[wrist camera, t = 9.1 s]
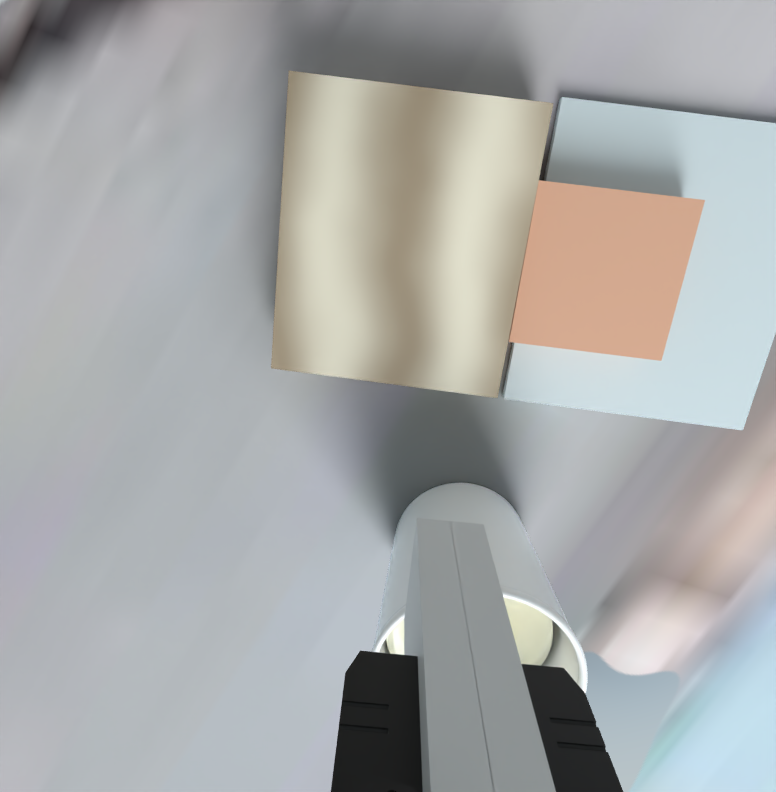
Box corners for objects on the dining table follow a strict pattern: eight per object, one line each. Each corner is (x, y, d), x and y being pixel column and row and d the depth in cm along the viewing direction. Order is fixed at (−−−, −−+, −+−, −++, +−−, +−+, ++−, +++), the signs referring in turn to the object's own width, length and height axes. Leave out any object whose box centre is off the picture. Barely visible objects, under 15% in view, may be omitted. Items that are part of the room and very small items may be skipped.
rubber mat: (502, 395, 34) (503, 398, 33) (559, 99, 29) (562, 96, 28) (737, 426, 33) (742, 430, 33) (834, 133, 28) (843, 131, 28)
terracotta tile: (502, 333, 32) (509, 341, 30) (529, 183, 29) (538, 180, 27) (643, 350, 32) (661, 360, 29) (683, 201, 29) (705, 200, 27)
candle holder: (441, 441, 35) (451, 549, 23) (566, 523, 36) (635, 664, 24) (355, 553, 37) (327, 700, 26) (475, 626, 39) (498, 797, 27)
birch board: (287, 351, 33) (271, 368, 30) (305, 89, 29) (288, 70, 25) (488, 377, 33) (497, 398, 29) (535, 118, 29) (553, 103, 25)
